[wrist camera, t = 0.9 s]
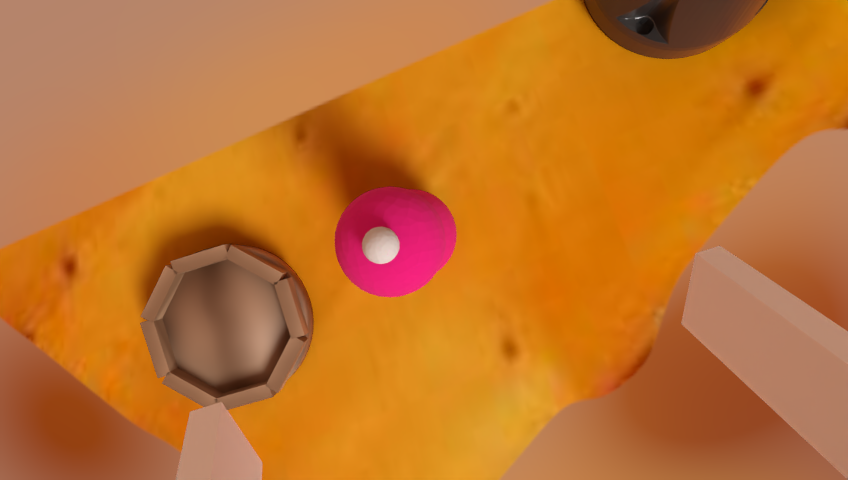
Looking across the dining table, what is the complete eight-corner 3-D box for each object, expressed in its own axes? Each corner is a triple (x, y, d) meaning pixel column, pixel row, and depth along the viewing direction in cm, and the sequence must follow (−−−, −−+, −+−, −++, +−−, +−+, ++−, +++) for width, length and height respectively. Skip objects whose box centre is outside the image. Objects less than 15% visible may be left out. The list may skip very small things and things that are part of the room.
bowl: (287, 225, 42) (273, 226, 38) (332, 372, 42) (322, 385, 39) (146, 269, 43) (121, 274, 39) (192, 412, 43) (171, 427, 40)
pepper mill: (367, 202, 41) (283, 187, 21) (446, 183, 40) (437, 149, 20) (385, 281, 41) (320, 339, 21) (464, 263, 41) (472, 306, 21)
